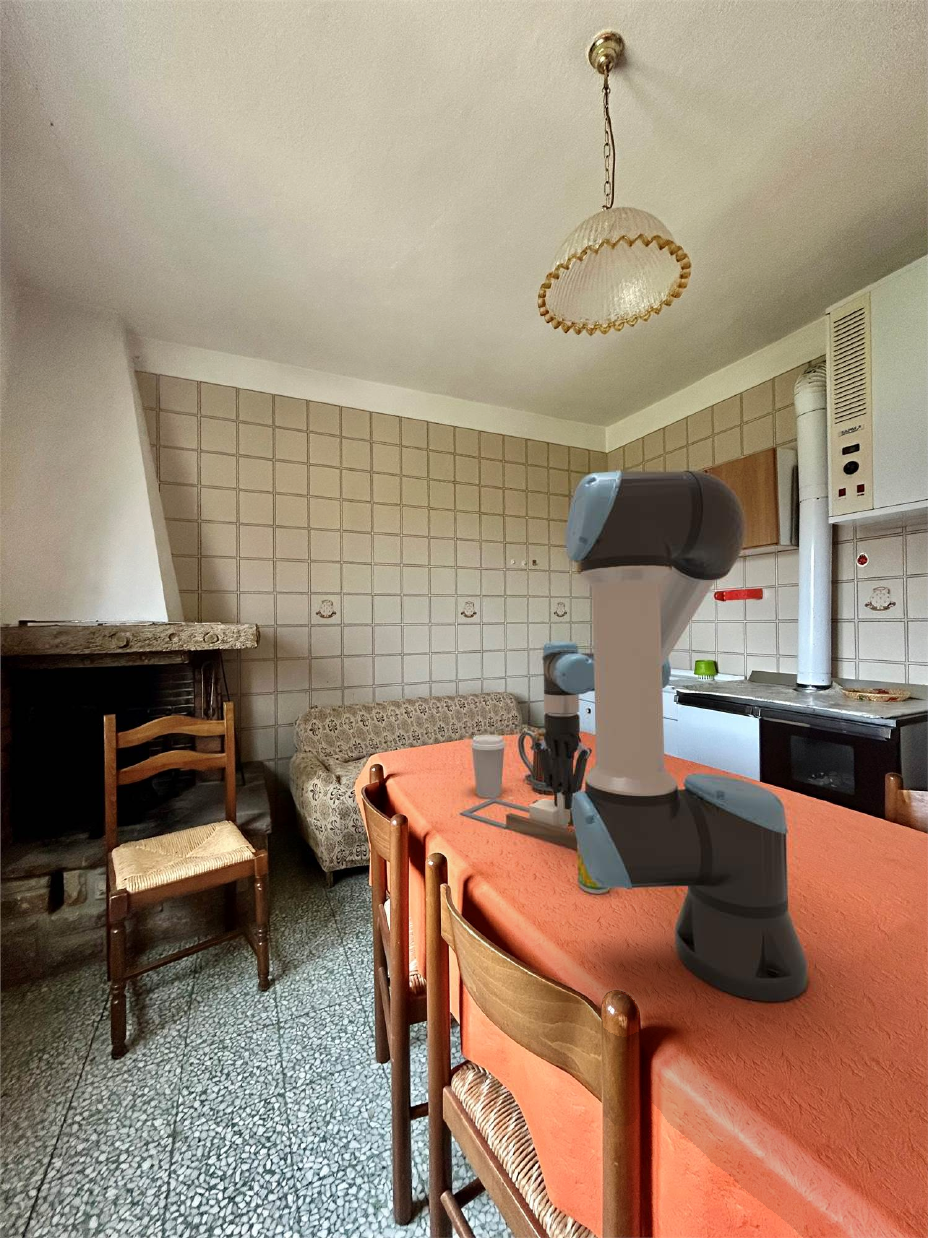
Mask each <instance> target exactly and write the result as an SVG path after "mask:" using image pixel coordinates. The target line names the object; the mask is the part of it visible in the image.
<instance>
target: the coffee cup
mask: <svg viewBox="0 0 928 1238" xmlns="http://www.w3.org/2000/svg"><path fill="white" fill-rule="evenodd" d="M469 746H470V748H471V752H472V761H473V769H474V771H473V772H474V781H475V790H476V791H475V792H476V796H477V797H479V798H482V799H487V800H491V799H493V798H494V799H498V798H500V797H501V796H502V784H503V769H504V757H505V755H504V754H505V748H506V747H507V745H506V742H505V740H504V738H503V736H502V735H495V734H482V735H476V736H473V738H472V741H471V742H470V744H469Z"/></svg>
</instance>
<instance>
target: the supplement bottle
mask: <svg viewBox="0 0 928 1238" xmlns="http://www.w3.org/2000/svg"><path fill="white" fill-rule="evenodd" d="M577 847H578V846H577ZM577 881H578V886H579V887H580V888H581V889H582V890H583V891H585V892H587V893H590V894H594V895H595V894H596V895H600V894H605V893H607V892H608V891H609V890H610V889H611V888H607V887H602V886H600V885H598V884H596V883H595V882H594V881H593V880H592V878H591V877H590V875H589V874H588V872H587V870H586V867H585V865H584V862H583V860H582V857H581V853H580V850H579V847H578V851H577Z"/></svg>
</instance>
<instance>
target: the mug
mask: <svg viewBox="0 0 928 1238" xmlns="http://www.w3.org/2000/svg"><path fill="white" fill-rule="evenodd" d="M545 733H546V730H544V731H538V732H536V733H535V732H534V731H531V730H526V731H523V732H521V733H520V735H519V737H518V740H517V748H518V754H519V756H520V758H521V761H522V762H523V764H524V765H525V767H526V768H527V770H528V771H529V773H527V774H524V778H525V780H526V781H527V782H529V783H530V784H531V788H532V790H533V791H534V792H536V793H538V794H540V795H546V796H554V791H553V789H551V788H550V787H549V788H548V787H546V784H545V779H544V775H543V770H542V766H541V761H540V756H539V753H538V751H537V749H536V747H535V743H536V742H539V741H541V740H543V739H544V735H545ZM527 736H528V737H529V738H530V740H531V746H530V747H529V749H530V750H531V751H533V753H532V756H533V759H532V762H531V761H530V759H529V758H528V756H527V753H526V750H525V738H526V737H527ZM548 749H549V747H548ZM549 752H550V757H551V751H550V749H549ZM551 761H552V760H551ZM562 791H563V789H562Z"/></svg>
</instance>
